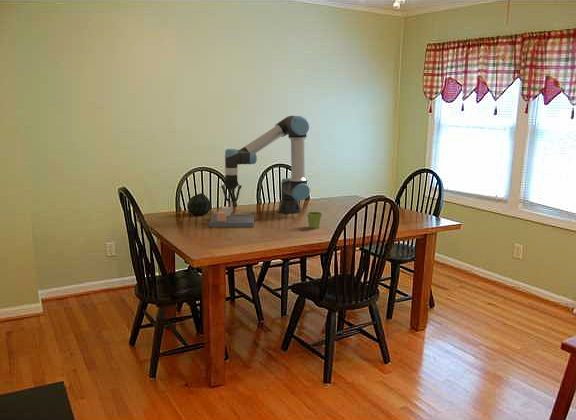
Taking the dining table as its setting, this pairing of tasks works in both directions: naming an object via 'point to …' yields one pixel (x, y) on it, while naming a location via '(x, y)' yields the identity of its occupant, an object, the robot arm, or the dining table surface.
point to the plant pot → (314, 219)
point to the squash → (199, 204)
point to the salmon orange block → (221, 216)
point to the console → (234, 221)
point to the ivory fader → (226, 210)
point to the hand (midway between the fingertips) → (231, 211)
